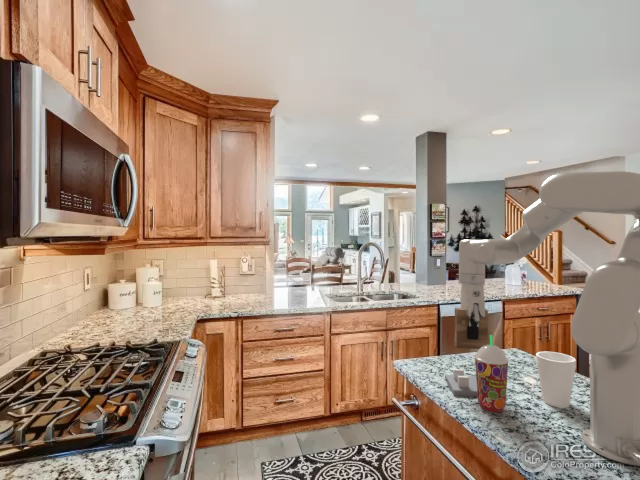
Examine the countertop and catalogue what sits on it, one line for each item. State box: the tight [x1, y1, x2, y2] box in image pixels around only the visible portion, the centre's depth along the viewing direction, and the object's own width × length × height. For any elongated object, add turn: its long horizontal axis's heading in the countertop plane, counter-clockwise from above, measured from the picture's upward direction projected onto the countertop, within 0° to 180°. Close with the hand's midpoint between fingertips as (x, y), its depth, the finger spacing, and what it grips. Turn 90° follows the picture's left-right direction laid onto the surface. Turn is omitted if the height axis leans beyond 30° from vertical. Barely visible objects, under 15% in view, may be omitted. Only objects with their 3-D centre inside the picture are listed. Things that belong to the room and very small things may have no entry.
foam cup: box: [535, 350, 577, 409], centre depth 99 cm, size 10×9×13 cm
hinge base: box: [444, 368, 478, 398], centre depth 109 cm, size 12×14×4 cm
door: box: [454, 307, 489, 350], centre depth 109 cm, size 4×9×12 cm, turn 82°
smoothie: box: [474, 334, 509, 413], centre depth 97 cm, size 8×8×20 cm
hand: (470, 336), depth 110 cm, fingers closed on door, 3 cm apart
